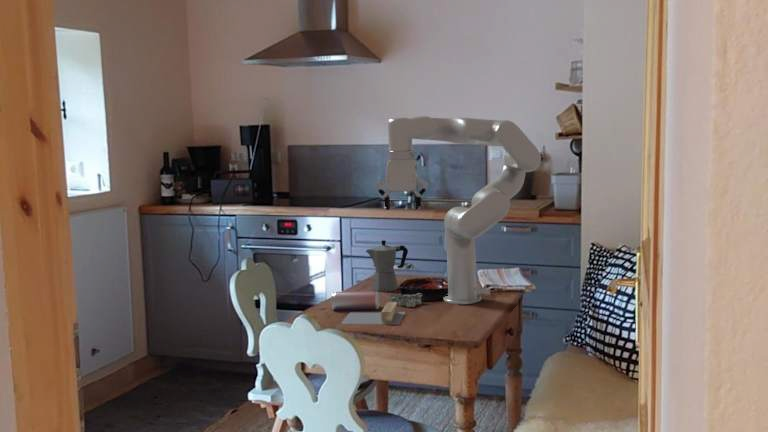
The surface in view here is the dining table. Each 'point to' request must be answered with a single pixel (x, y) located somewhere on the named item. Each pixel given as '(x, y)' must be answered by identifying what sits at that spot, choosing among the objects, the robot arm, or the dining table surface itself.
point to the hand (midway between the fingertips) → (402, 209)
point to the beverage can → (355, 300)
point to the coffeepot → (386, 266)
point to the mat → (370, 318)
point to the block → (389, 312)
